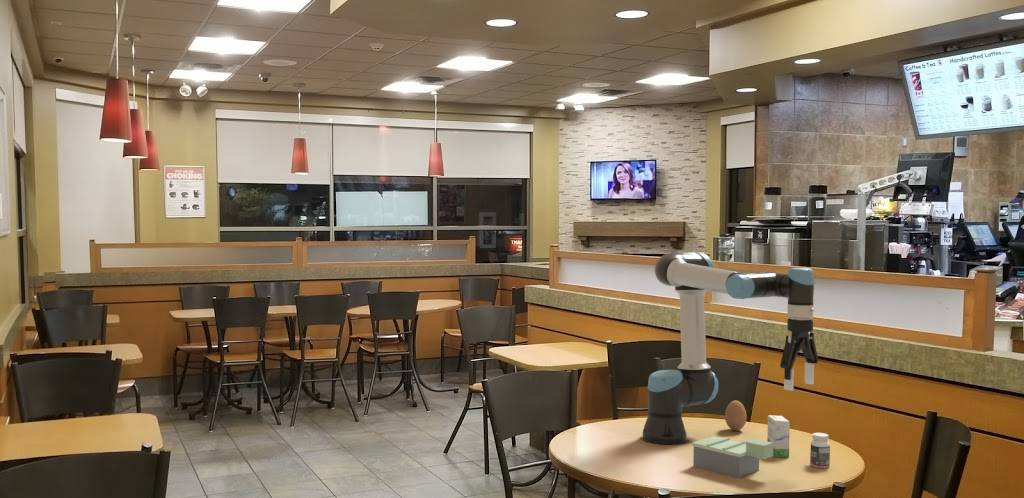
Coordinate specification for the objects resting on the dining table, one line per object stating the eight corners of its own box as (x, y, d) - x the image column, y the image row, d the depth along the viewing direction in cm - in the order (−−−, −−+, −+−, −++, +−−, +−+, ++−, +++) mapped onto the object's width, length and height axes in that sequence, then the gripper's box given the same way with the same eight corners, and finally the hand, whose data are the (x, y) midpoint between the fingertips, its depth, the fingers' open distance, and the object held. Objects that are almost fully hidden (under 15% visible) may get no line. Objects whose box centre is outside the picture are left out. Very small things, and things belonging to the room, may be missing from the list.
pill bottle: (807, 463, 267) (807, 432, 266) (824, 463, 267) (825, 431, 267) (815, 468, 261) (815, 437, 261) (832, 468, 262) (833, 436, 261)
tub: (693, 468, 261) (693, 445, 261) (713, 461, 268) (714, 439, 268) (739, 480, 249) (739, 456, 249) (758, 472, 257) (759, 449, 256)
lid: (692, 445, 261) (692, 433, 260) (713, 439, 269) (713, 426, 268) (758, 461, 244) (758, 447, 244) (778, 454, 252) (779, 440, 252)
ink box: (789, 457, 274) (790, 421, 273) (774, 457, 274) (775, 421, 273) (781, 450, 282) (781, 414, 282) (766, 449, 282) (767, 414, 282)
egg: (742, 427, 312) (742, 398, 311) (749, 432, 304) (749, 402, 304) (722, 427, 311) (722, 398, 311) (728, 433, 304) (728, 402, 303)
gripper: (792, 322, 249) (791, 394, 250) (830, 316, 267) (828, 383, 268) (769, 320, 254) (768, 390, 255) (807, 314, 272) (806, 379, 273)
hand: (799, 387), depth 261 cm, fingers open, 13 cm apart
